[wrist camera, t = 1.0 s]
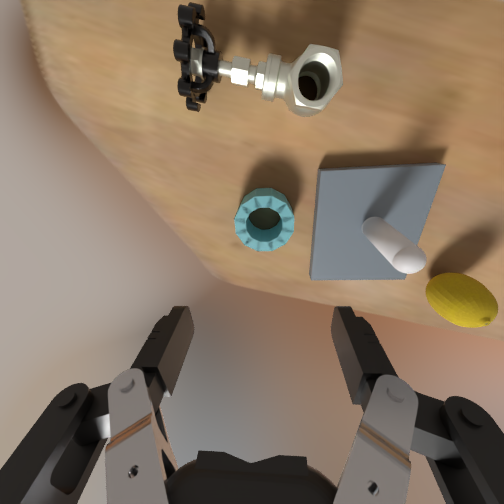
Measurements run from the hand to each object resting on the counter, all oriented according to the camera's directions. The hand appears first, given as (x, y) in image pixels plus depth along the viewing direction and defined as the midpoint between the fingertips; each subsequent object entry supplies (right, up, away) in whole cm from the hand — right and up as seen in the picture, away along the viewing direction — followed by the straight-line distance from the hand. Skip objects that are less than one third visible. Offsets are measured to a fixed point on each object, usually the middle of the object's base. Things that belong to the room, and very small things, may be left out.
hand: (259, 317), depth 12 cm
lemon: (+25, 0, +18) cm, 30 cm away
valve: (+1, +20, +9) cm, 21 cm away
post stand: (+13, +8, +14) cm, 21 cm away
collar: (+1, +8, +15) cm, 17 cm away
